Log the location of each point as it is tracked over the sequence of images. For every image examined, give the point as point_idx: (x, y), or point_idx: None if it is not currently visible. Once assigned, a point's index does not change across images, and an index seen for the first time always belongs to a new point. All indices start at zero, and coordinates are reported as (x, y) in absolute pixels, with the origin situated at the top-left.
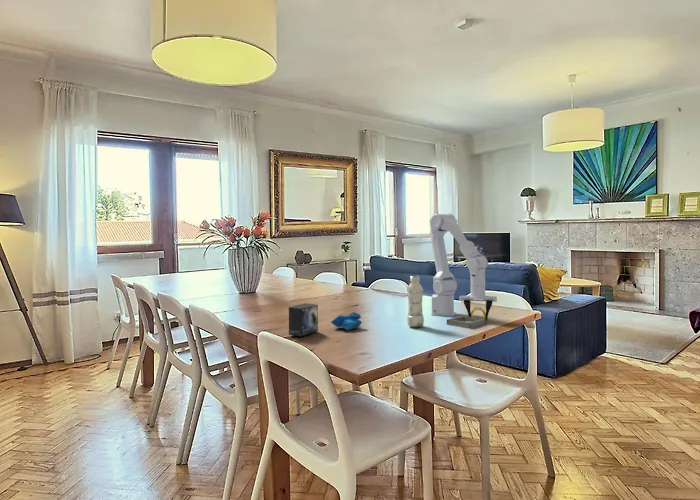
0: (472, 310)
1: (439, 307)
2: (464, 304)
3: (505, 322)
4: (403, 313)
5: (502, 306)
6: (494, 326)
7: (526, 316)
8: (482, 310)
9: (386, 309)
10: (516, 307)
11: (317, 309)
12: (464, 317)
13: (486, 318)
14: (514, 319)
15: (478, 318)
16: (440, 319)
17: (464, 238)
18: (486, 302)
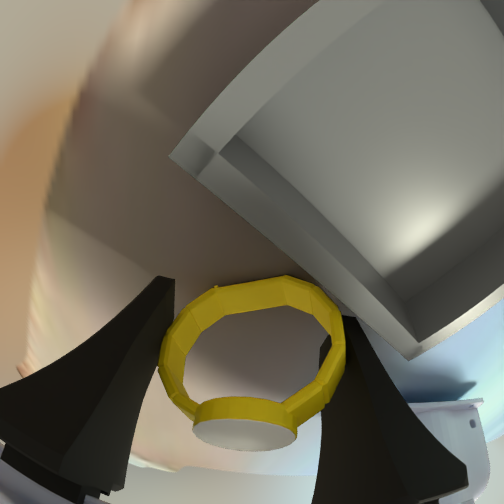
0: (321, 408)
1: (461, 444)
2: (461, 463)
3: (47, 271)
4: (498, 416)
5: (137, 456)
6: (108, 90)
7: (26, 363)
8: (182, 395)
9: (491, 436)
10: None
11: None
12: (408, 327)
13: (160, 284)
14: (37, 333)
15: (282, 211)
16: (474, 364)
17: None
18: (59, 475)
